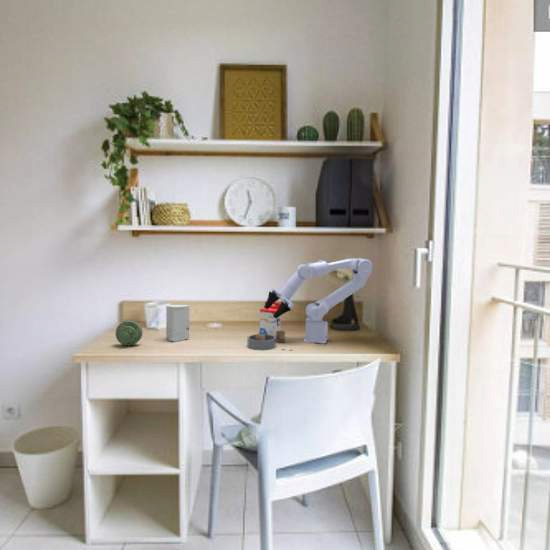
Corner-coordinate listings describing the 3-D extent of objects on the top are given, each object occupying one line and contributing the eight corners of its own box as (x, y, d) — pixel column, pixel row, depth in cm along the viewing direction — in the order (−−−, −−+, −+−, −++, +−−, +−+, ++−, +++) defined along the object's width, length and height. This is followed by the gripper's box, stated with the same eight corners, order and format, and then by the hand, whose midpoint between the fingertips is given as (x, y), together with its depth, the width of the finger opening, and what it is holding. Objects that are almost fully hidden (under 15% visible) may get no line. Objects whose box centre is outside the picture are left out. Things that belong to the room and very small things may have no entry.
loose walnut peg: (285, 342, 174) (285, 331, 174) (283, 344, 171) (283, 332, 171) (277, 342, 175) (277, 330, 175) (275, 344, 172) (275, 332, 171)
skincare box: (172, 342, 173) (172, 307, 172) (165, 339, 177) (165, 305, 176) (190, 339, 179) (189, 305, 177) (182, 336, 183) (182, 303, 182)
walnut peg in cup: (265, 346, 166) (265, 334, 165) (263, 348, 162) (263, 336, 162) (257, 345, 167) (257, 333, 166) (254, 348, 163) (254, 335, 163)
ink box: (259, 334, 189) (259, 302, 188) (264, 332, 194) (264, 301, 192) (275, 336, 185) (276, 304, 184) (280, 334, 190) (281, 302, 188)
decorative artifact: (142, 344, 169) (142, 320, 168) (137, 348, 162) (137, 323, 161) (117, 344, 169) (117, 320, 168) (111, 348, 162) (111, 323, 161)
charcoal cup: (278, 344, 171) (278, 335, 171) (272, 351, 160) (272, 341, 160) (252, 342, 173) (252, 333, 173) (244, 349, 162) (244, 339, 162)
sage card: (296, 350, 163) (296, 348, 163) (294, 353, 158) (294, 352, 158) (279, 348, 165) (279, 347, 165) (276, 352, 160) (276, 350, 160)
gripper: (276, 276, 178) (256, 300, 178) (294, 291, 167) (273, 317, 167) (285, 283, 182) (265, 307, 182) (304, 299, 172) (283, 324, 172)
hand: (270, 312), depth 175 cm, fingers open, 7 cm apart
